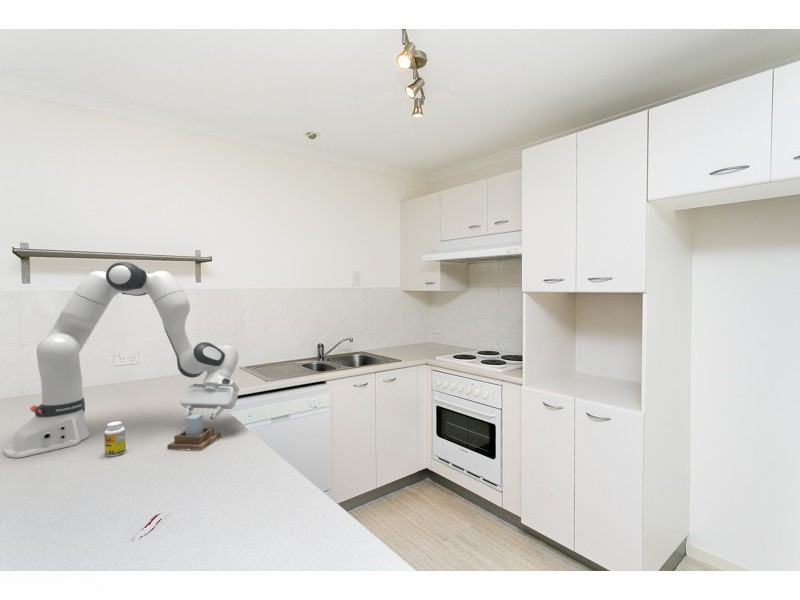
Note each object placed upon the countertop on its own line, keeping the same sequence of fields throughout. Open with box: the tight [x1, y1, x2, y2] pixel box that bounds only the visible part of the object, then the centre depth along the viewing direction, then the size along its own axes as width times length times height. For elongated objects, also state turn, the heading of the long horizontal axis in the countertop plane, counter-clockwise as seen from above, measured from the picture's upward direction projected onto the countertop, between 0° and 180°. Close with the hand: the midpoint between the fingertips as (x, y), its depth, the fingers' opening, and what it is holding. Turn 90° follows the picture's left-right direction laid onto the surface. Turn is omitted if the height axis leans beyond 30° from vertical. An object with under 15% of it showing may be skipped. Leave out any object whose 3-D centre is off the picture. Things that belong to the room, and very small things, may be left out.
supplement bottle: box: [103, 420, 127, 457], centre depth 130 cm, size 6×6×10 cm
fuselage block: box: [184, 413, 204, 436], centre depth 138 cm, size 4×4×8 cm
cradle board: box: [166, 426, 222, 451], centre depth 138 cm, size 12×12×4 cm
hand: (200, 418), depth 141 cm, fingers open, 8 cm apart
